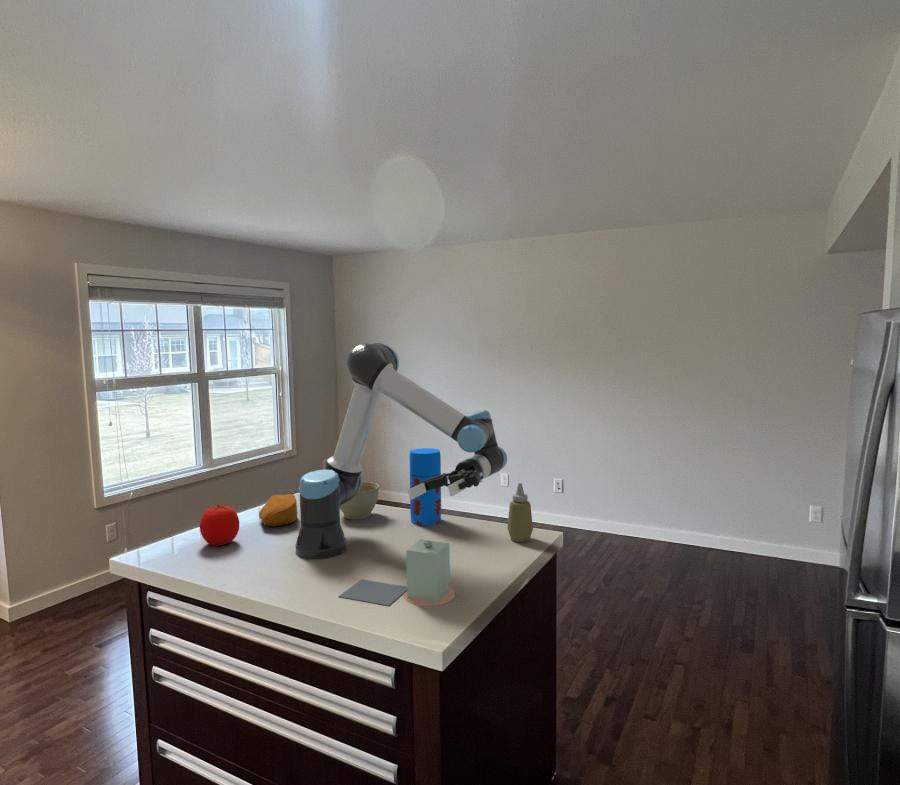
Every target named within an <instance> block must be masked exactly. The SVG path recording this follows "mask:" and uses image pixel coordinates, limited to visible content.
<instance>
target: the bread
mask: <svg viewBox="0 0 900 785" xmlns="http://www.w3.org/2000/svg"><path fill="white" fill-rule="evenodd" d="M258 516H259V519H260V521H261V522H262V524H264V525H266V526H270V527H280V526H286V525H290V524H291V523H294V522H295V521H296V520H297V518H298V505H297V499H296V496H295V494H293V493H288V494H273V495H271V496H270V497H269V498H267V501H266V503H265V504H264V505H263V507H261V509H260V511H259V512H258Z"/></svg>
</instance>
